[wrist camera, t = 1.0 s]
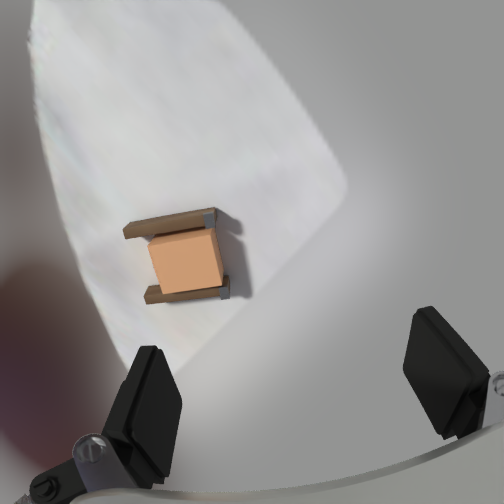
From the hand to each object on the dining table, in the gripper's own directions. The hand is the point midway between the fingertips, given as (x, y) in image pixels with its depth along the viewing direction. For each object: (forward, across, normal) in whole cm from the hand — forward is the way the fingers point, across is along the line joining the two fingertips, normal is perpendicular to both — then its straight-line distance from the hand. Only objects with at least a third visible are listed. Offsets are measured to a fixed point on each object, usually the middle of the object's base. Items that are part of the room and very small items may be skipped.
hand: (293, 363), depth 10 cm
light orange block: (+26, +9, +4) cm, 27 cm away
